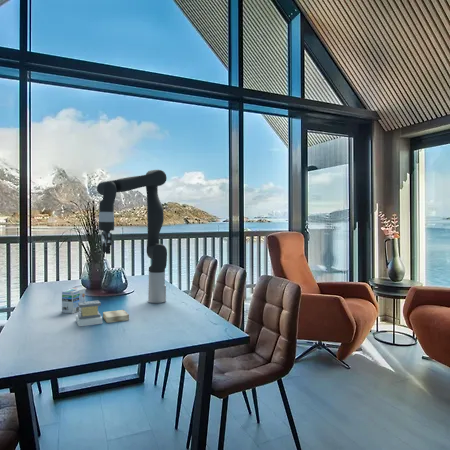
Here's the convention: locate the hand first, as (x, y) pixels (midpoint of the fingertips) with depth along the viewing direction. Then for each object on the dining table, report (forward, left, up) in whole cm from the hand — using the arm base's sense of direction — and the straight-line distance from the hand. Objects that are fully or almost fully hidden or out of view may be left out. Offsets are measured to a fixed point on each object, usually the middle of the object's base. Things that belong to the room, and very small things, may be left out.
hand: (106, 253), depth 179 cm
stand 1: (+10, +14, -30) cm, 35 cm away
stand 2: (-2, +14, -30) cm, 33 cm away
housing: (+10, +14, -28) cm, 32 cm away
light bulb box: (+14, -10, -30) cm, 35 cm away
